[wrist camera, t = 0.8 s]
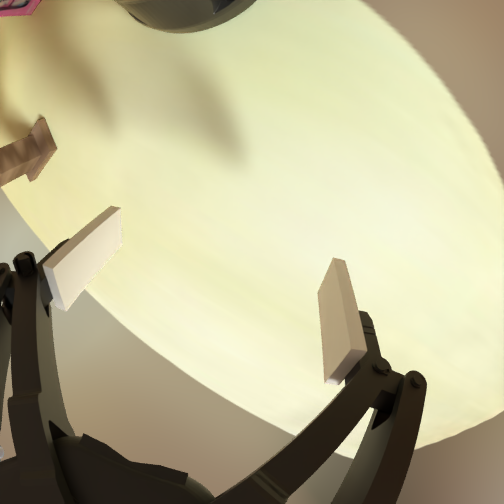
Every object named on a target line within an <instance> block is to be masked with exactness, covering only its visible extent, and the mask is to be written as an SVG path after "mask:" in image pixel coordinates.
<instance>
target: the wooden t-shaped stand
mask: <svg viewBox="0 0 504 504" xmlns="http://www.w3.org/2000/svg"><path fill="white" fill-rule="evenodd" d="M56 150H57V147H56V145H55V142H54V140H53V138H52V135H51V133H50V130H49V128H48V125H47V123H46V120H45V118H44V119H41V120H37V122H36V123H35V125H34V127H33V129H32V130H31V132H30V134H29V135H28V137H26V138H23V139H21V140H18V141H16V142H13V143H11V144H8V145H6V146H4V147H2V148H0V187H1V186H3V185H5V184H7V183H9V182H10V181H12V180H14V179H16V178H18V177H20V176H22V175H24V174H26V175H27V177H28V179H29V181H30V182H31V181H33V180H35V179H36V178H37V177H38V175H39V174H40V172H41V171H42V169H43V168H44V166H45V165H46V164H47V162H48V161H49V159H50V158H51V157H52V155H53V154H54V153H55V151H56Z"/></svg>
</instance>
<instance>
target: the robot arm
mask: <svg viewBox="0 0 504 504" xmlns="http://www.w3.org/2000/svg"><path fill="white" fill-rule="evenodd" d="M114 1H116V2H117V3H118V4H120V5H121V6H122V7H123V8H125V9H126V10H127V11H128V12H129V14H130V15H131V16H132V17H133V18H134V19H135V20H137V21H138V22H139V23H141V24H143V25H145V26H147V27H150V28H153V29H157V30H161V31H165V32H169V33H192V32H197V31H202V30H206V29H209V28H212V27H215V26H218V25H220V24H222V23H224V22H226V21H229V20H230V19H232V18H234V17H236V16H237V15H239V14H240V13H242V12H243V11H245V10H246V9H247V8H249V7H250V6H251V5H252V4H253V3H254V2H255V1H256V0H114ZM121 246H122V228H121V208H119V207H114V206H110V207H109V208H107V209H106V210H105V211H104V212H102V213H101V214H100V215H99V216H97V217H96V218H95V219H94V220H92V221H91V222H90V223H89V224H87V225H86V226H85V227H84V228H83V229H81V230H80V231H79V232H78V233H77V234H75V235H74V236H73V237H72V238H71V239H67V240H64V241H62V242H61V243H59V244H58V245H57V246H56V247H55V249H53V250H52V251H51V252H49V253H48V254H47V255H46V256H45V257H44V258H43V259H42V260H41V261H40V262H39V263H38V264H36V260H35V257H34V254H33V253H32V252H29V251H25V252H22V253H20V254H18V255H17V256H16V257H15V258H14V260H13V264H14V267H15V270H16V271H11V270H10V267H9V265H8V264H7V263H0V430H1V422H2V409H3V398H4V390H5V382H6V376H7V369H8V364H9V359H10V354H11V374H12V388H13V396H12V397H10V398H9V399H8V413H9V420H10V426H11V432H12V438H13V443H14V447H15V451H16V456H15V457H12V458H9V459H6V460H4V461H1V459H0V504H285V503H286V502H287V499H288V498H289V496H290V495H291V494H292V493H293V492H295V491H296V490H297V489H298V488H299V487H300V486H301V485H302V484H303V483H304V482H305V481H306V480H307V479H308V478H309V477H310V476H311V475H312V474H313V473H314V472H315V471H316V470H317V469H318V468H319V467H320V466H321V465H322V464H323V463H324V462H325V461H326V460H327V459H328V458H329V457H330V456H331V454H332V453H333V452H334V451H335V450H336V449H337V448H338V447H339V445H340V444H341V443H342V442H343V441H344V440H345V438H346V437H347V436H348V435H349V433H350V432H351V431H352V430H353V428H354V427H355V426H356V425H357V423H358V422H359V421H360V419H361V418H362V417H363V416H364V414H365V413H366V411H367V410H368V409H369V407H371V408H374V411H373V414H372V417H371V419H370V422H369V425H368V427H367V430H366V432H365V435H364V437H363V440H362V442H361V444H360V447H359V449H358V451H357V453H356V456H355V458H354V460H353V462H352V464H351V466H350V468H349V470H348V473H347V475H346V477H345V478H344V480H343V482H342V484H341V486H340V488H339V490H338V492H337V493H336V495H335V497H334V499H333V501H332V502H331V504H396V501H397V499H398V496H399V494H400V491H401V489H402V486H403V483H404V480H405V477H406V474H407V471H408V468H409V465H410V462H411V458H412V455H413V451H414V448H415V444H416V440H417V436H418V432H419V427H420V423H421V418H422V413H423V407H424V402H425V396H426V389H427V382H426V380H425V378H424V376H423V375H422V374H421V373H419V372H417V371H409V372H408V373H407V374H406V375H402V374H400V373H397V372H395V371H393V370H392V369H391V366H390V364H389V362H388V361H387V360H386V359H384V358H382V357H381V353H380V349H379V345H378V341H377V337H376V335H375V334H376V333H375V329H374V325H373V321H372V319H371V317H370V316H369V315H368V313H367V312H364V311H358V307H357V303H356V299H355V295H354V291H353V288H352V284H351V280H350V277H349V273H348V269H347V266H346V263H345V260H341V259H337V258H333V259H332V261H331V264H330V266H329V268H328V271H327V273H326V275H325V277H324V280H323V282H322V284H321V286H320V289H319V291H318V302H319V313H320V324H321V336H322V350H323V365H324V383H326V384H336V385H339V384H340V383H341V382H342V381H343V380H344V379H345V387H344V388H343V389H342V390H341V391H340V392H339V393H338V394H337V395H336V397H335V398H334V399H333V400H332V401H331V402H330V403H329V404H328V405H327V406H326V407H325V408H324V409H323V410H322V411H321V412H320V413H319V415H318V416H317V417H316V418H315V419H314V420H312V421H311V422H310V423H309V424H308V425H307V426H306V427H305V428H304V429H303V430H302V431H301V432H300V433H299V434H298V435H297V436H296V437H295V438H293V439H292V441H290V442H289V443H288V444H287V445H286V446H284V447H283V448H282V449H281V450H280V451H279V452H277V453H276V454H275V455H274V456H273V457H271V458H270V459H269V460H268V461H267V462H265V463H264V464H263V465H261V466H260V467H259V468H258V469H256V470H255V471H254V472H252V473H251V474H250V475H248V476H247V477H246V478H244V479H243V480H241V481H240V482H239V483H237V484H236V485H234V486H233V487H231V488H230V489H228V490H227V491H225V492H224V493H222V494H221V495H219V496H217V497H216V498H215V497H214V496H213V495H212V494H211V493H210V491H209V490H208V489H206V488H205V487H204V486H203V485H202V484H200V483H199V482H197V481H196V480H194V479H192V478H190V477H188V473H185V472H181V471H178V470H174V469H171V468H167V467H164V466H161V465H153V464H145V463H137V462H131V461H129V460H127V459H126V458H124V457H123V456H122V455H120V454H119V453H117V452H116V451H115V450H113V449H112V448H111V447H109V446H108V445H107V444H105V443H102V442H100V441H98V440H96V439H94V438H92V437H90V436H88V435H86V434H83V436H82V437H79V436H75V433H74V431H73V429H72V427H71V425H70V423H69V421H68V419H67V415H66V411H65V407H64V403H63V398H62V393H61V389H60V383H59V378H58V372H57V365H56V359H55V351H54V342H53V331H52V318H51V317H52V316H51V306H50V302H51V300H52V299H53V300H54V302H55V305H56V307H58V308H60V309H62V310H64V311H67V310H68V309H69V307H70V306H71V305H72V303H73V302H74V301H75V299H76V298H77V297H78V296H79V295H80V293H81V292H82V291H83V290H84V289H85V287H86V286H87V285H88V284H89V283H90V281H91V280H92V279H93V278H94V277H95V275H96V274H97V273H98V272H99V271H100V270H101V268H102V267H103V266H104V265H105V264H106V263H107V262H108V261H109V259H110V258H111V257H112V256H113V255H114V254H115V253H116V252H117V251H118V250H119V248H120V247H121ZM1 302H3V304H2V306H1ZM3 456H4V450H3V448H2V447H1V446H0V458H2V457H3Z"/></svg>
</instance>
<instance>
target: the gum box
mask: <svg viewBox="0 0 504 504" xmlns="http://www.w3.org/2000/svg"><path fill="white" fill-rule="evenodd" d="M40 1H41V0H0V17H4V16H21V15H31V14H32V13H33V11H34V10H35V8H36V7H37V5H38V4H39V3H40Z"/></svg>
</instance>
